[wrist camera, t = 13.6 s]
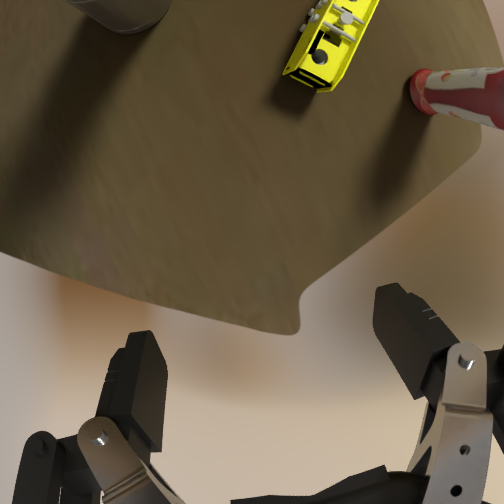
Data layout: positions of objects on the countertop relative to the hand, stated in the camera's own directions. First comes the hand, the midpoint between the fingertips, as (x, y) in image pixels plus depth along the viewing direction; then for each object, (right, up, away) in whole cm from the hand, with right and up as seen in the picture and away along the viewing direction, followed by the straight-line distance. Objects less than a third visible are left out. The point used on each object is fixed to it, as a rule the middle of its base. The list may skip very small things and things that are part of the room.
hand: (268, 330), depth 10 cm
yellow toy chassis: (+8, +30, +20) cm, 37 cm away
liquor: (+24, +26, +24) cm, 43 cm away
